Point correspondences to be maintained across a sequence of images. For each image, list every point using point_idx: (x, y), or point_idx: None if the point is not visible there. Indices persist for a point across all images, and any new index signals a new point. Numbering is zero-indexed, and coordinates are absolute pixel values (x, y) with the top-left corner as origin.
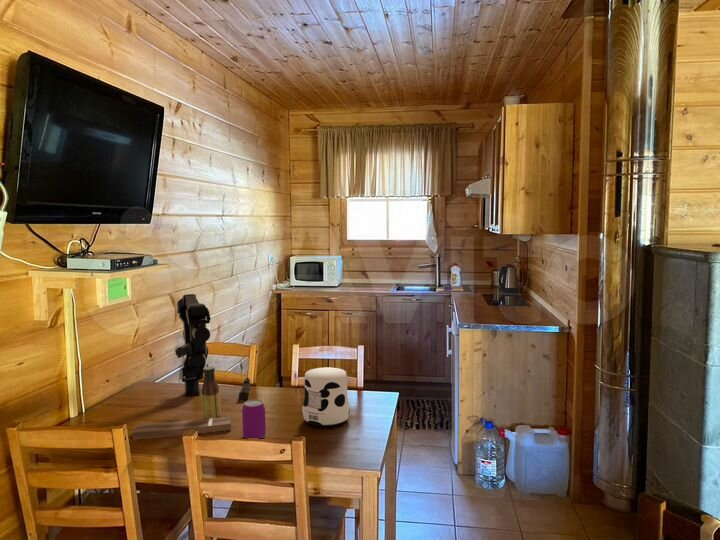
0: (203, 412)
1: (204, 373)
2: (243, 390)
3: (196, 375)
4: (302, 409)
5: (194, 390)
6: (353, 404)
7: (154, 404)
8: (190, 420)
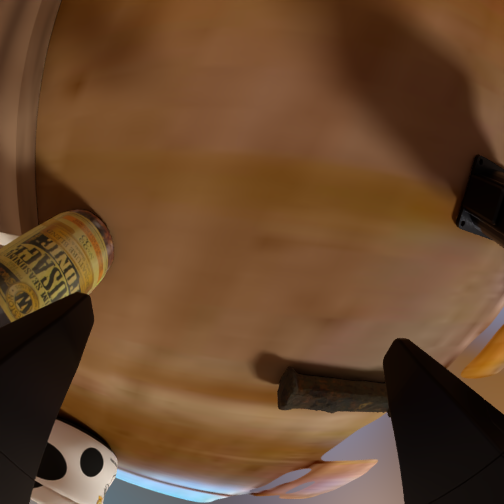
0: (48, 220)
1: None
2: (315, 402)
3: (23, 326)
4: (54, 435)
5: (475, 212)
6: (159, 478)
7: (425, 6)
8: (14, 157)
